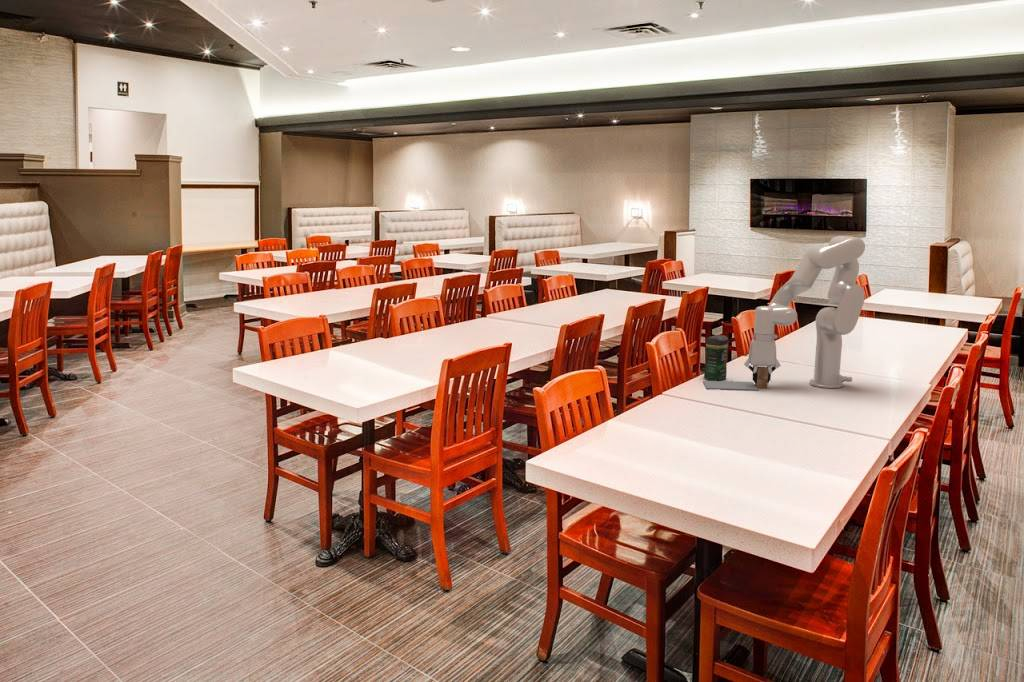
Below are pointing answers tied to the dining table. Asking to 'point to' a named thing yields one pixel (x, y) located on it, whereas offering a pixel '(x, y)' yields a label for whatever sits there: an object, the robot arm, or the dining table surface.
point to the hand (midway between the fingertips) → (761, 382)
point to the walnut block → (762, 377)
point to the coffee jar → (716, 357)
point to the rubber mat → (730, 385)
